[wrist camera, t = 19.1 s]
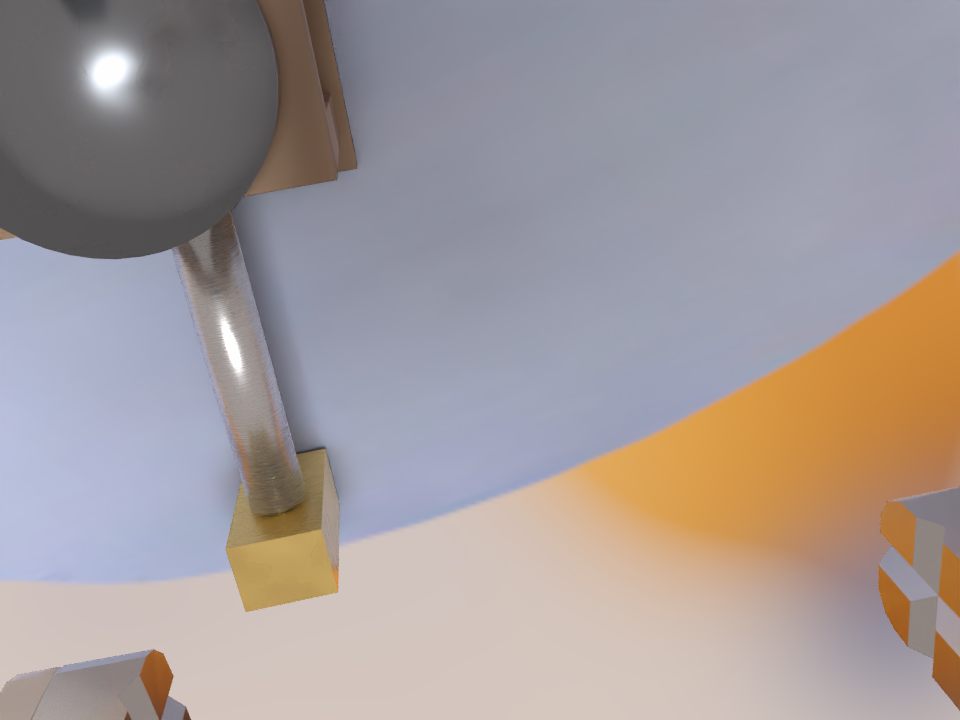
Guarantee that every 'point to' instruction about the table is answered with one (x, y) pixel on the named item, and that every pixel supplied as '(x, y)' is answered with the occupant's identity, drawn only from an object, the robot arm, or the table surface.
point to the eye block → (302, 102)
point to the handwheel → (131, 119)
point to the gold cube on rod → (259, 436)
